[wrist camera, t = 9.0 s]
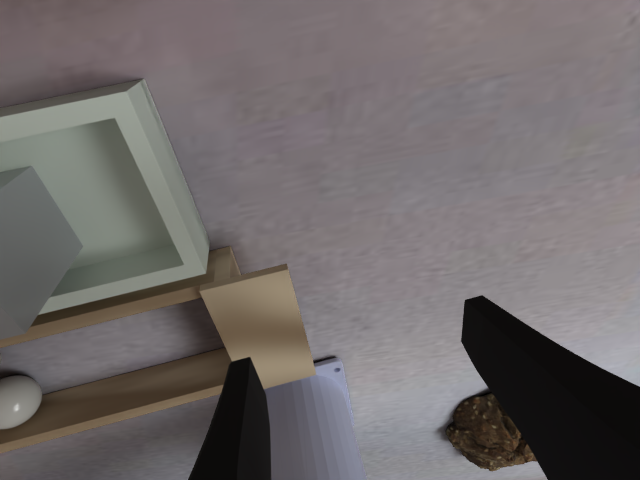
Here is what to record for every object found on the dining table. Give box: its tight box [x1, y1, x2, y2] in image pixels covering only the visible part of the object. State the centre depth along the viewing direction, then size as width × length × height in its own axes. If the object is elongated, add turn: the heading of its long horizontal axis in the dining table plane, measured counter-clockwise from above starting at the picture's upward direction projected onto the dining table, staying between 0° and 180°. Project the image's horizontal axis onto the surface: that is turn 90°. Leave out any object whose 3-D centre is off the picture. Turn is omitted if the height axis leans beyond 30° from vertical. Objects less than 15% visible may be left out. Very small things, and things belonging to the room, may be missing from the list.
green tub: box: [0, 79, 210, 315], centre depth 16 cm, size 9×16×3 cm, turn 100°
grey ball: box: [0, 375, 42, 429], centre depth 22 cm, size 3×3×3 cm
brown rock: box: [446, 393, 537, 471], centre depth 36 cm, size 13×12×5 cm
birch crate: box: [0, 246, 316, 453], centre depth 21 cm, size 9×24×4 cm, turn 100°
